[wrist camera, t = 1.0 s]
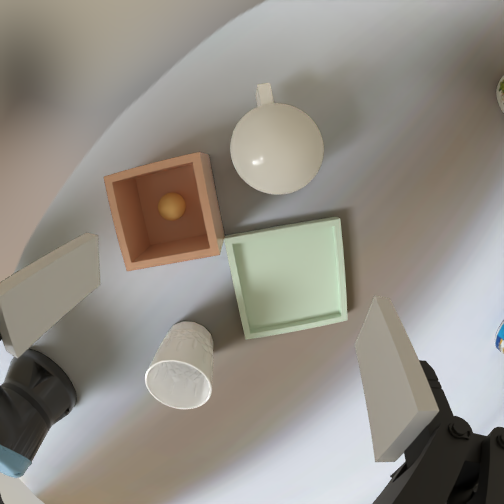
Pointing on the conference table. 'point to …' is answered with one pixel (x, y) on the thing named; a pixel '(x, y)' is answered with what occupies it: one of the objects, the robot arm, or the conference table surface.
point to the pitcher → (500, 93)
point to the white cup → (182, 367)
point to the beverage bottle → (500, 338)
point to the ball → (171, 206)
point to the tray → (288, 277)
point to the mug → (276, 146)
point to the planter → (153, 224)
